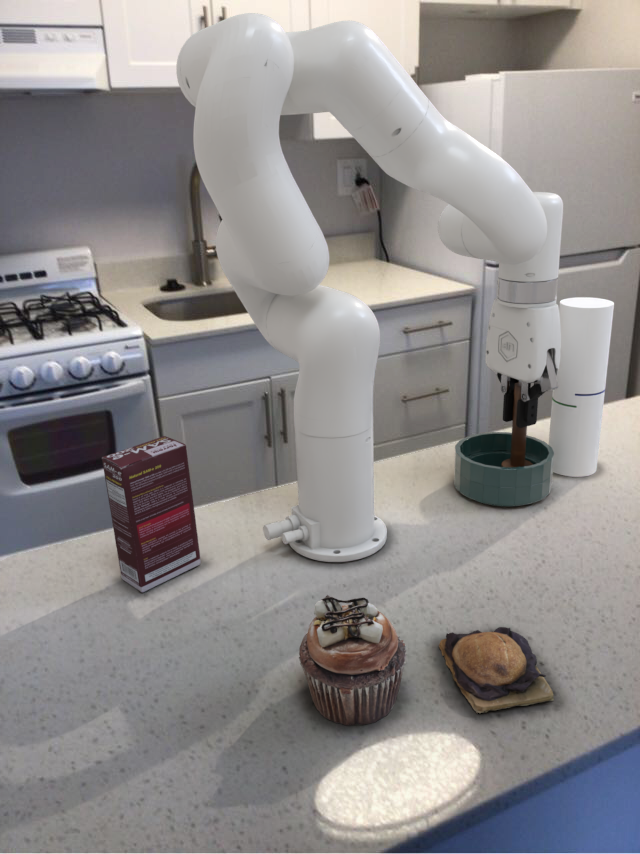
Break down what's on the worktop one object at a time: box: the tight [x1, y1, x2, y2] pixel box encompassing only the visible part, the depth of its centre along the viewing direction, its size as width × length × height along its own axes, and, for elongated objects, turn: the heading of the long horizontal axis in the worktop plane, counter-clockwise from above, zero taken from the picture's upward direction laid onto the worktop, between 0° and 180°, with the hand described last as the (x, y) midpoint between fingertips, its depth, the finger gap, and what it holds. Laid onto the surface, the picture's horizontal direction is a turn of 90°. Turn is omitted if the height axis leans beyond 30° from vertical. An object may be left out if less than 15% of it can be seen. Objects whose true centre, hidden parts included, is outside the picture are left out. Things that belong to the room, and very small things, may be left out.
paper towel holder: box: [501, 382, 533, 467], centre depth 106 cm, size 4×4×13 cm
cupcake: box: [298, 594, 407, 726], centre depth 68 cm, size 10×10×10 cm
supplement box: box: [101, 435, 202, 593], centre depth 87 cm, size 9×5×16 cm, turn 134°
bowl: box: [453, 431, 554, 508], centre depth 107 cm, size 13×13×6 cm
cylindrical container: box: [548, 296, 615, 478], centre depth 109 cm, size 7×7×25 cm
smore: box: [438, 626, 555, 714], centre depth 71 cm, size 11×8×4 cm
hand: (519, 421), depth 105 cm, fingers closed on paper towel holder, 2 cm apart
